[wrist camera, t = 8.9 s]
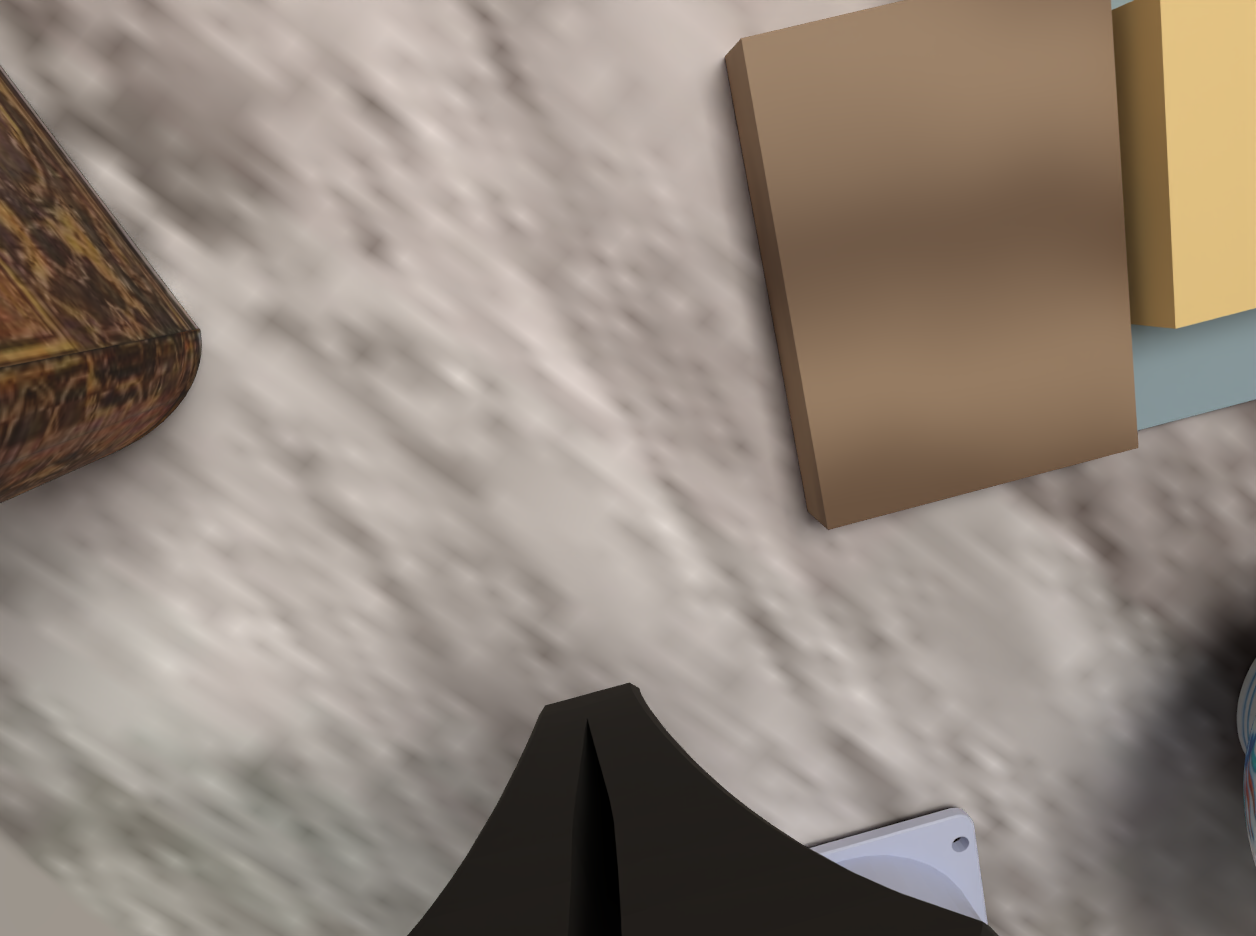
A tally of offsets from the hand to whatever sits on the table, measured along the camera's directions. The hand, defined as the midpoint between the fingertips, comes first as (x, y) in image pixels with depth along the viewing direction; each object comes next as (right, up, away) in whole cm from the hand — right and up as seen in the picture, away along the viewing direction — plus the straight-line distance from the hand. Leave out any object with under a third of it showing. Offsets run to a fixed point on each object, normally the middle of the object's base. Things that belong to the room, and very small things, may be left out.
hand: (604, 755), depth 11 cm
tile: (+15, +12, +8) cm, 20 cm away
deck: (+8, +9, +8) cm, 14 cm away
